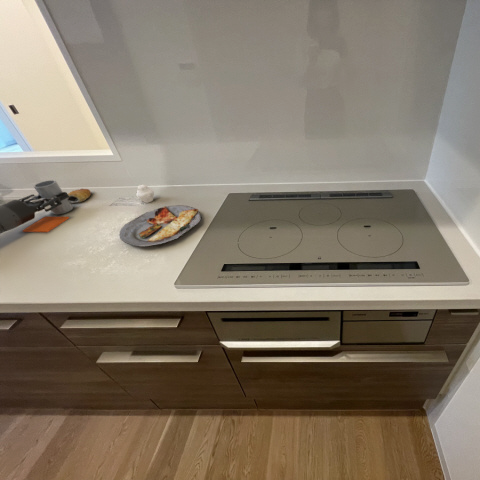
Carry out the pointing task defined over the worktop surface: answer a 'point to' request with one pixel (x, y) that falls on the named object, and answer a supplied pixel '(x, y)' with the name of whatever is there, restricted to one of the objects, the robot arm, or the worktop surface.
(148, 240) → the food plate
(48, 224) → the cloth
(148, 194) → the white lumpy ball
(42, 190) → the grey cylindrical cup
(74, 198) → the pastry
